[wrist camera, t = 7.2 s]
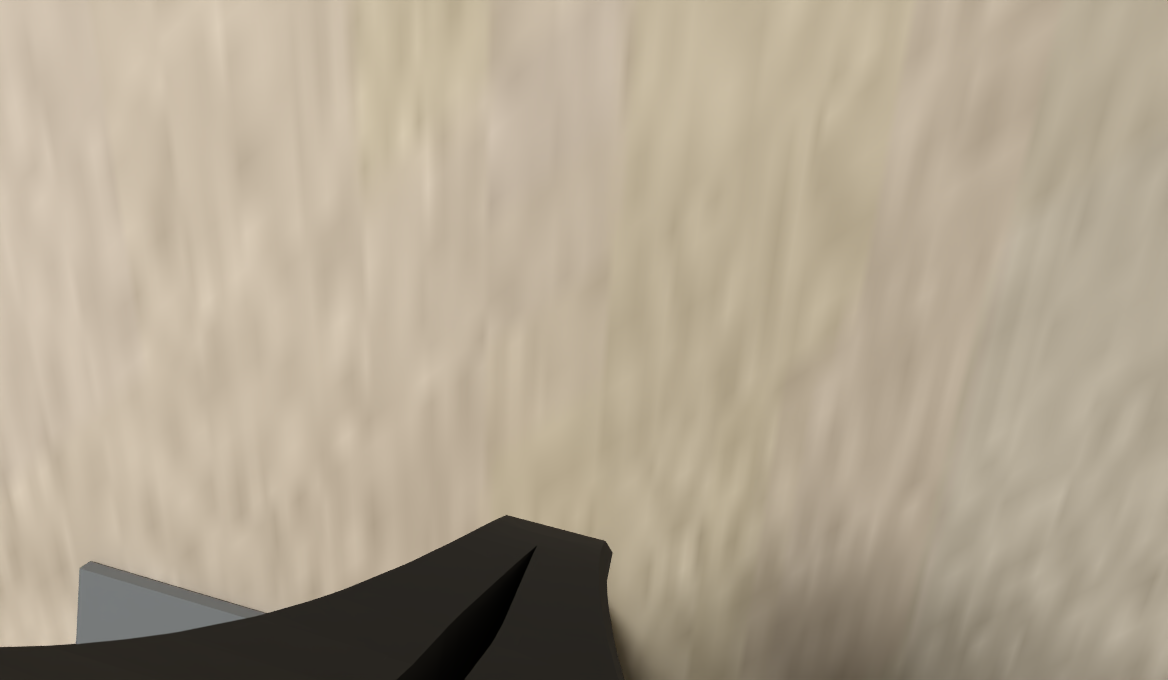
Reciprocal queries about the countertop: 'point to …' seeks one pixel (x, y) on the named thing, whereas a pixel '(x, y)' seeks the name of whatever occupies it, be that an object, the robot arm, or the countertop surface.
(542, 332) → the countertop surface
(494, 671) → the robot arm
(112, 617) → the mat
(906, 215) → the countertop surface
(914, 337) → the countertop surface
